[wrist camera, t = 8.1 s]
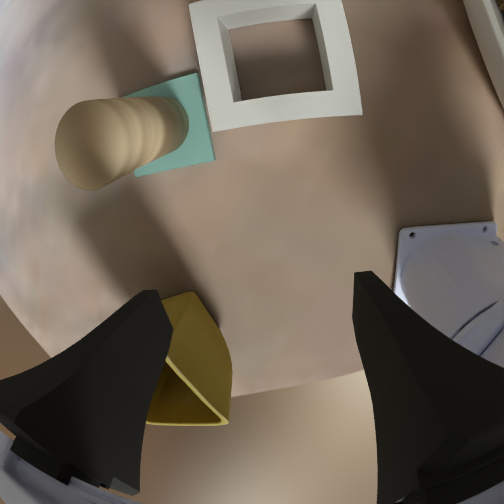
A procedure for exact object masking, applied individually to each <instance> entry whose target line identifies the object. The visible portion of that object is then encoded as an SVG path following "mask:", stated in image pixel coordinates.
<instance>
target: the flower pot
mask: <svg viewBox="0 0 504 504" xmlns="http://www.w3.org/2000/svg"><path fill="white" fill-rule="evenodd" d="M161 301H162V304H163V306H164V308H165V311H166V313H167V315H168V317H169V320H170V322H171V324H172V326H173V334H172V339H171V344H170V348H169V352H168V355H167V358H166V360H165V363H164V366H163V369H162V371H161V374H160V377H159V379H158V382H157V385H156V387H155V390H154V393H153V396H152V399H151V402H150V406H149V410H148V414H147V419H146V423H147V424H153V425H182V426H183V425H186V426H193V425H194V426H209V425H210V426H212V425H224V424H228V423H229V413H230V400H231V388H232V363H231V358H230V354H229V350H228V347H227V345H226V342H225V340H224V338H223V335H222V333H221V331H220V329H219V328H218V326H217V325H216V323H215V322H214V321H213V319H212V317H211V316H210V315H209V313H208V312H207V310H206V308H205V307H204V305H203V304H202V302H201V301H200V299H199V297H198V296H197V294H196V293H194V292H191V291H189V292H185V293H182V294H179V295H175V296H172V297H169V298H166V299H162V300H161Z"/></svg>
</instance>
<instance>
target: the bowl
mask: <svg viewBox="0 0 504 504" xmlns="http://www.w3.org/2000/svg"><path fill="white" fill-rule="evenodd" d="M463 3H464V6H465V9H466V12H467V15H468V18H469V22H470V24H471V27H472V30H473V33H474V36H475V38H476V41H477V44H478V47H479V49H480V52H481V55H482V57H483V60H484V63H485V65H486V68H487V70H488V73H489V75H490V78H491V80H492V83H493V85H494V88H495V90H496V93H497V95H498V97H499V100H500V102H501V104H502V107H503V109H504V0H463Z"/></svg>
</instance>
